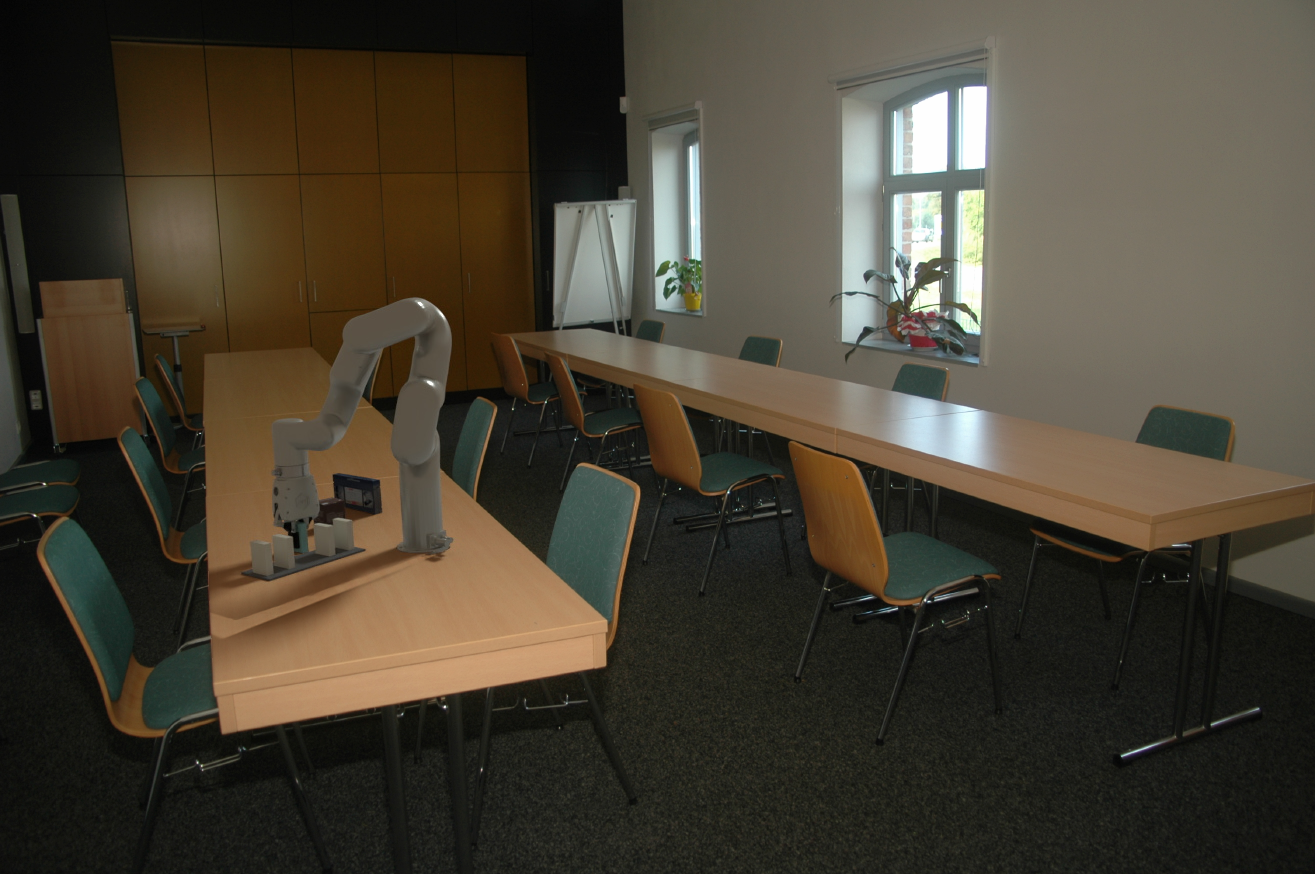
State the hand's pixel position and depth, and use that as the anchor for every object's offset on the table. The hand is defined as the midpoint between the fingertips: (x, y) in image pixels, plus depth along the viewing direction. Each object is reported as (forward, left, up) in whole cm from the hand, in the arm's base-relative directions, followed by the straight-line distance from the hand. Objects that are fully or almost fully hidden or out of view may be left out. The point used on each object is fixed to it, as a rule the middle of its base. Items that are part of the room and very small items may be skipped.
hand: (298, 546), depth 221 cm
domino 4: (-9, -6, -1) cm, 11 cm away
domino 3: (-9, -1, -1) cm, 9 cm away
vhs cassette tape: (+19, -34, -1) cm, 39 cm away
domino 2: (-9, +10, -1) cm, 14 cm away
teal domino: (0, 0, -1) cm, 1 cm away
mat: (-9, +5, -1) cm, 10 cm away
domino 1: (-9, +16, -1) cm, 18 cm away
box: (+11, -18, -1) cm, 21 cm away
